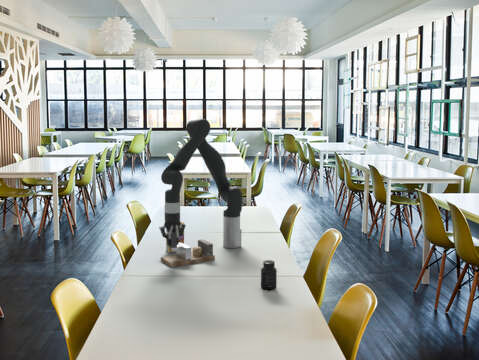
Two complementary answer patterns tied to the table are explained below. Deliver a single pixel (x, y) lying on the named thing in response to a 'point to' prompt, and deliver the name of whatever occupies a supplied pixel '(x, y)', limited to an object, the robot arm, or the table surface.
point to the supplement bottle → (268, 276)
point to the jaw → (180, 247)
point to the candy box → (181, 239)
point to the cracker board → (178, 261)
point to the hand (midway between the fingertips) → (172, 245)
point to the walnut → (196, 251)
